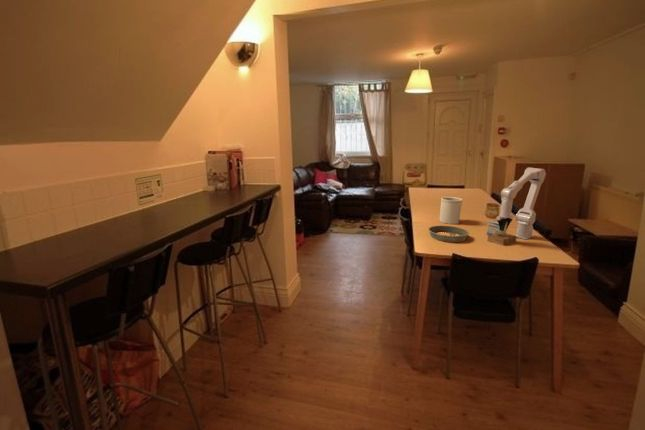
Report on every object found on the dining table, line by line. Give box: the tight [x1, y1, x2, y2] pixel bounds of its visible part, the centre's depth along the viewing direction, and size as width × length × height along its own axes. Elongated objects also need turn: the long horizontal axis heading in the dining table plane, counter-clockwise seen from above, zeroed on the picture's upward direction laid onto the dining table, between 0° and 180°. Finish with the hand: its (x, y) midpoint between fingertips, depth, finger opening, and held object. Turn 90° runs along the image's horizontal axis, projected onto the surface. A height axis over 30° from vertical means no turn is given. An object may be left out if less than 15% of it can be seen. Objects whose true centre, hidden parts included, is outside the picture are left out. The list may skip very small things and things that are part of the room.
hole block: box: [487, 232, 518, 246], centre depth 215 cm, size 14×10×4 cm
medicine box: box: [486, 220, 501, 236], centre depth 226 cm, size 8×4×9 cm, turn 45°
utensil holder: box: [439, 196, 464, 225], centre depth 257 cm, size 15×15×18 cm
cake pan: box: [427, 225, 470, 243], centre depth 222 cm, size 25×25×4 cm
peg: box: [500, 222, 508, 236], centre depth 213 cm, size 3×3×9 cm
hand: (503, 230), depth 213 cm, fingers closed on peg, 3 cm apart
